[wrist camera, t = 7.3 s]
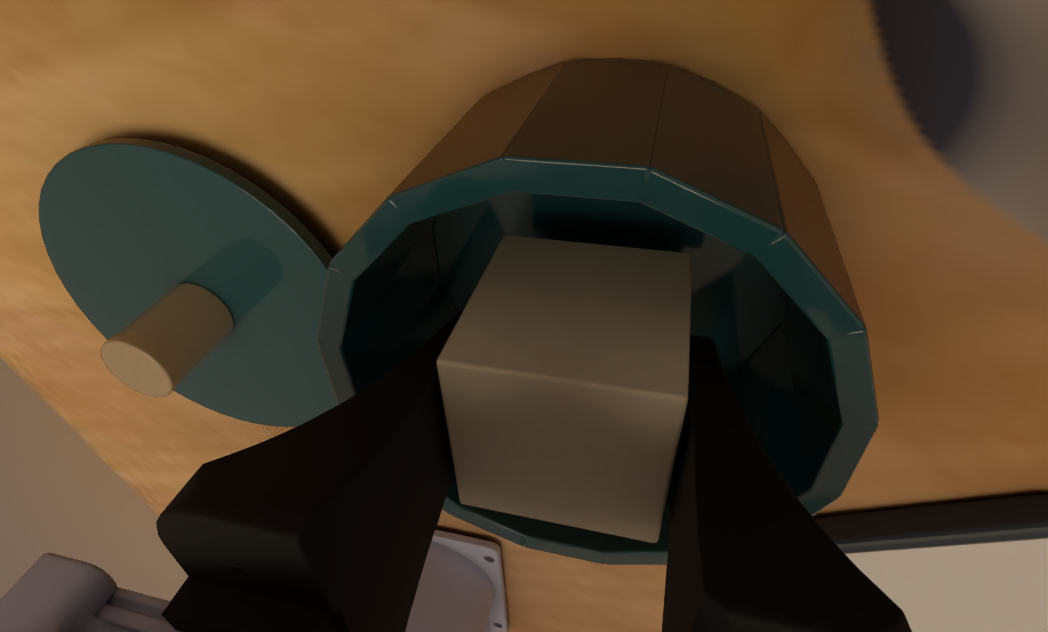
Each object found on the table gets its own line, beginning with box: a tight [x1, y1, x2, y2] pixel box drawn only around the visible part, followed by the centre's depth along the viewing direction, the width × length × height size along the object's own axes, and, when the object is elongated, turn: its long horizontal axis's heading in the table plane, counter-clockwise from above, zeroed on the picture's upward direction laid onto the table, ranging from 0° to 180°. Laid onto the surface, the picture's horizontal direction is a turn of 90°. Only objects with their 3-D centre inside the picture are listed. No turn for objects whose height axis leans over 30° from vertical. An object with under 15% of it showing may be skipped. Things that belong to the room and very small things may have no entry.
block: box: [437, 235, 692, 543], centre depth 13 cm, size 4×4×5 cm
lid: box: [39, 138, 338, 427], centre depth 20 cm, size 12×12×4 cm
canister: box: [317, 58, 879, 565], centre depth 14 cm, size 11×11×6 cm
